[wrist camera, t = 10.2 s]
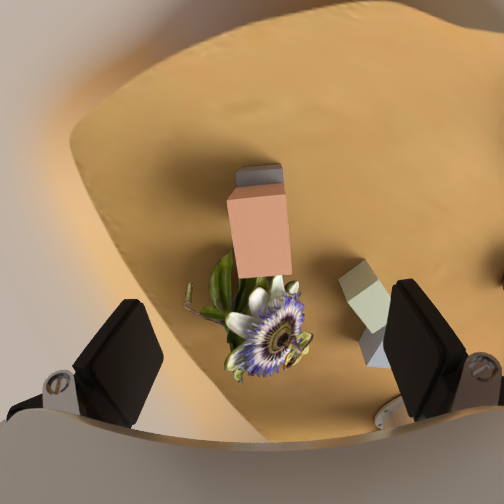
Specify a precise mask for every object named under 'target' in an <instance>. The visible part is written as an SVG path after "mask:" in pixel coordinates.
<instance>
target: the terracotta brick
mask: <svg viewBox="0 0 504 504" xmlns="http://www.w3.org/2000/svg"><path fill="white" fill-rule="evenodd" d="M226 201H227V207H228V214H229V220H230V227H231V233H232V239H233V246H234V252H235V258H236V264H237V270H238V276H239V278H253V277H266V276H278V275H291V274H292V265H291V252H290V239H289V227H288V215H287V204H286V194H285V189H284V185H283V183H275V184H265V185H255V186H246V187H238V188H235V190H234V191H233V192H232V194H231V195H230V196H229V198H228V199H227V200H226Z"/></svg>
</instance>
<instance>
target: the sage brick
mask: <svg viewBox="0 0 504 504" xmlns="http://www.w3.org/2000/svg"><path fill="white" fill-rule="evenodd" d="M338 280H339V282H340V285H341V287H342V290H343V293H344V295H345V298H346V300H347V302H348V304H349V305H350V306H351V307H352V309H353V310H354V311H355V312H356V314H357V315H358V316H359V317H360V319H361V320H362V321H363V323H364V324H365V325H366V326H367V328H368V329H369V330H370V331H371V333H372V334H373V333H375V332H376V331H378V330H379V329H381V328H382V327H384V326H385V325H386V324H387V318H388V312H389V306H390V299H391V297H390V295H389V294H388V292H387V291H386V289H385V288H384V286H383V285H382V283H381V282H380V280H379V279H378V277H377V276H376V274H375V273H374V271H373V270H372V268H371V267H370V265H369V264H368V262H367V261H366V260H363V261H362V262H361V263H359V264H358V265H357V266H355V267H354V268H353V269H351V270H350V271H349V272H347V273H346V274H345V275H343V276H342V277H340V278H339V279H338Z"/></svg>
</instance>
